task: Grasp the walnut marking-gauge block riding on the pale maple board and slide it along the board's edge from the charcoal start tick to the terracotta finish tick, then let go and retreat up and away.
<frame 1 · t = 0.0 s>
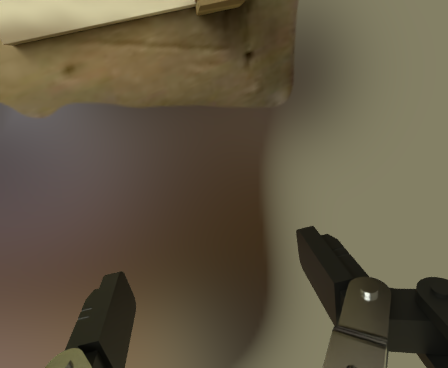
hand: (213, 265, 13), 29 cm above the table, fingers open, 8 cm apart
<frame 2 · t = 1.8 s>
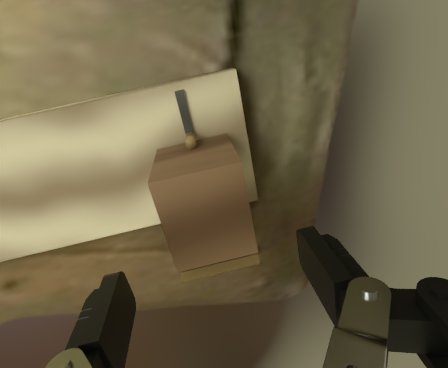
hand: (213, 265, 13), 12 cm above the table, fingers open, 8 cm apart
board: (68, 174, 23), on the table
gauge: (204, 195, 20), point 5 cm above the table, slide at 0.0 cm
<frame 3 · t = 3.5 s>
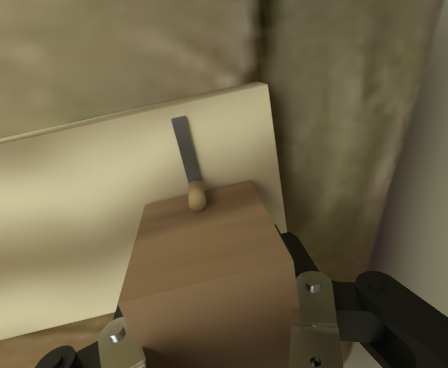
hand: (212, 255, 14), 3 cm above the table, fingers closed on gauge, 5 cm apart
board: (18, 233, 16), on the table
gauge: (216, 279, 13), point 5 cm above the table, slide at 0.0 cm, touching gripper
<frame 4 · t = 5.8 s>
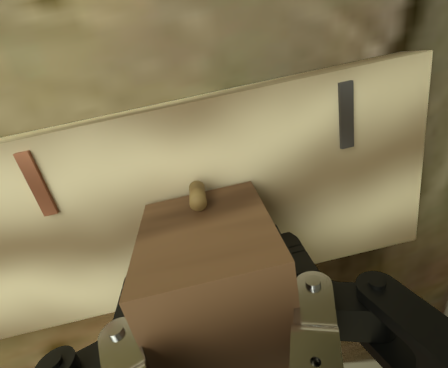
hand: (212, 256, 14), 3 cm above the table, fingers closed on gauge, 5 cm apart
board: (152, 202, 16), on the table
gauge: (217, 279, 13), point 5 cm above the table, slide at 7.3 cm, touching gripper
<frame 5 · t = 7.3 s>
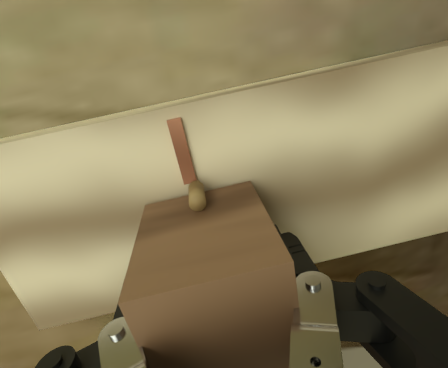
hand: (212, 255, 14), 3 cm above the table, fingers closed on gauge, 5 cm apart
board: (266, 176, 16), on the table
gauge: (216, 279, 13), point 5 cm above the table, slide at 13.8 cm, touching gripper
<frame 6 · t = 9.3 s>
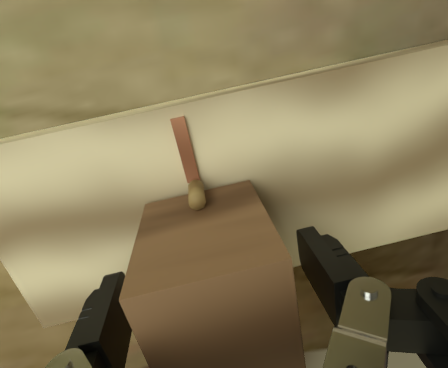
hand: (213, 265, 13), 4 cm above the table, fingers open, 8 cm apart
board: (269, 174, 16), on the table
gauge: (216, 277, 13), point 5 cm above the table, slide at 13.9 cm
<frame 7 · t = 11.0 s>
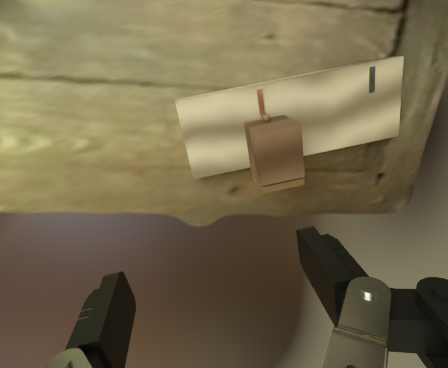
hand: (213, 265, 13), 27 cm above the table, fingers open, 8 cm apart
board: (289, 117, 39), on the table
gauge: (271, 148, 35), point 5 cm above the table, slide at 13.9 cm
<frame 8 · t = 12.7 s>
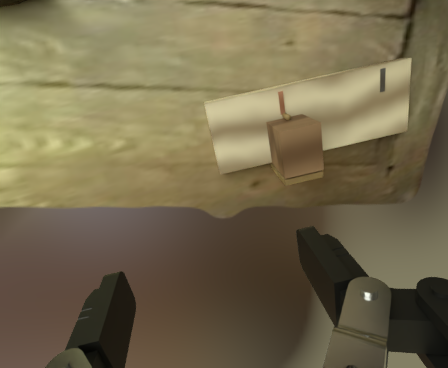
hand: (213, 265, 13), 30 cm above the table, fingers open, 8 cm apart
board: (306, 115, 42), on the table
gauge: (292, 145, 39), point 5 cm above the table, slide at 13.9 cm
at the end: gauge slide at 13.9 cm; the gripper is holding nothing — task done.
